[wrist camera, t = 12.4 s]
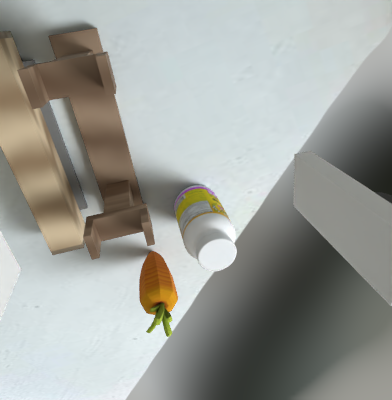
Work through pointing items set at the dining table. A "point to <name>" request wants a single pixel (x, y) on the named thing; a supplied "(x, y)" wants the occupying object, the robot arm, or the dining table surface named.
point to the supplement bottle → (205, 228)
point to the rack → (93, 130)
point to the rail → (36, 158)
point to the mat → (61, 150)
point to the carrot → (157, 291)
